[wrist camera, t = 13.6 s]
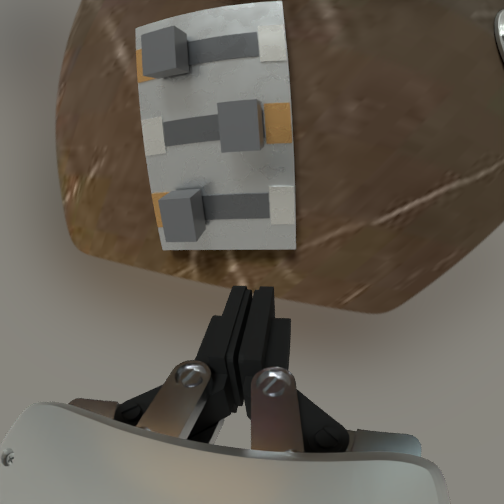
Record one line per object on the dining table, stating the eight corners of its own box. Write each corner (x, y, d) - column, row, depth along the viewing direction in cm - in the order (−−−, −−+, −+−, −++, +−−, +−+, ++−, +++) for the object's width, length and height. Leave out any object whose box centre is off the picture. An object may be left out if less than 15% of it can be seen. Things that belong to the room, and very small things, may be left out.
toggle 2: (200, 188, 26) (190, 197, 23) (206, 228, 27) (196, 241, 25) (171, 191, 26) (157, 200, 23) (177, 229, 28) (166, 242, 25)
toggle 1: (186, 33, 19) (174, 25, 16) (189, 72, 21) (176, 67, 18) (156, 41, 19) (141, 35, 17) (158, 78, 21) (143, 75, 19)
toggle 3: (260, 101, 21) (256, 99, 19) (263, 146, 23) (260, 150, 21) (225, 104, 22) (217, 102, 19) (229, 148, 24) (221, 152, 21)
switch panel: (282, 8, 19) (281, 0, 17) (295, 240, 29) (295, 250, 28) (144, 32, 21) (134, 27, 19) (169, 242, 32) (161, 250, 30)
